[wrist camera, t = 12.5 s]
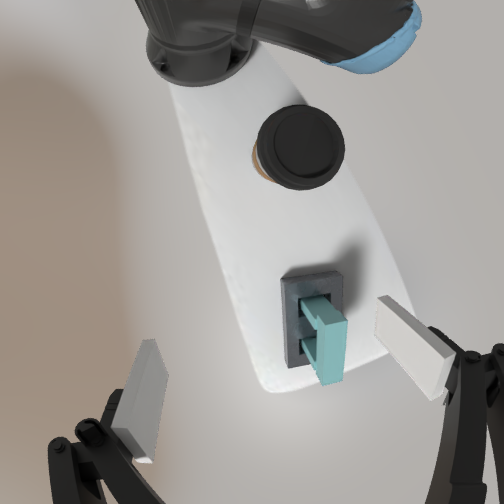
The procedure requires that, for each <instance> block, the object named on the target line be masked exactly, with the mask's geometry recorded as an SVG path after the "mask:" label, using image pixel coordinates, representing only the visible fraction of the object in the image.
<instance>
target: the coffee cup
mask: <svg viewBox="0 0 504 504" xmlns="http://www.w3.org/2000/svg"><path fill="white" fill-rule="evenodd" d="M344 153H345V144H344V138H343V135H342V132H341V130H340V128H339V127H338V125H337V124H336V122H335V121H334V120H333V119H332V118H331V117H330V116H329V115H328V114H327V113H325V112H323V111H321V110H320V109H317V108H315V107H311V106H307V105H291V106H287V107H283V108H282V109H280V110H278V111H276V112H275V113H273V114H271V115H270V116H269V117H268V118H267V119H266V120H265V122H264V123H263V124H262V126H261V129H260V131H259V133H258V138H257V140H256V142H255V145H254V147H253V152H252V163H253V166H254V168H255V170H256V171H257V172H258V174H260V175H261V176H262V177H264V178H265V179H267V180H270V181H272V182H275V183H277V184H280V185H282V186H284V187H286V188H288V189H293V190H298V191H299V190H310V189H314V188H317V187H319V186H322V185H324V184H325V183H327V182H328V181H330V180H331V179H332V178H333V177H334V176H335V174H336V173H337V172H338V170H339V168H340V166H341V164H342V162H343V159H344Z"/></svg>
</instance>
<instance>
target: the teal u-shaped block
mask: <svg viewBox="0 0 504 504" xmlns="http://www.w3.org/2000/svg"><path fill="white" fill-rule="evenodd" d="M299 306H300V308H301V309H302V311H303V312H304V314H305V315H306V317H307V318H308V320H309V322H310V323H311V325H312V326H313V328H314V329H315V330H317V335H316V336H311V337H306V338H301V339H300V343H301V345H302V347H303V349H304V351H305V353H306V355H307V357H308V359H309V361H310V363H311V365H312V367H313V369H314V370H316V375H317V377H318V378H319V380H320V382H321V384H322V386H324V385H328V384H332V383H336V382H340V381H342V379H343V370H344V361H345V350H346V338H347V324H348V320H347V319H346V318H345V317H344V316H343V315H342V314H341V313H340V311H339V310H336V309H335V308H334V307H333V306H332V305H331V303H330V302H329V301H328V300H327V299H326V298H325V297H324V296H323V295H322V294H321V295H315V296H309V297H303V298H299Z"/></svg>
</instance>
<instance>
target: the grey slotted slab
mask: <svg viewBox="0 0 504 504" xmlns="http://www.w3.org/2000/svg"><path fill="white" fill-rule="evenodd" d="M280 281H281V296H282V314H283V332H284V353H285V362H286V364H287V367H288V368H293V367H298V366H303V365H308V364H311V363H310V361H309V359H308V357H307V355H306V353H305V351H304V349H303V347H302V346H299V339H301V338H306V337H311V336H316V335H317V330H315V329H314V328H313V326H312V325H311V323H310V322H309V320H308V318H307V317H306V315H305V314H304V312H303V311H302V309H301V310H298V298H303V297H309V296H315V295H321V294H325V298H326V299H327V300H328V301H329V302H330V303H331V305H332V306H333V307H334V308H335V309H336V310H339V311H340V313H341V314H342V293H343V276H342V275H341V274H340V273H339V272H337V271H332V272H325V273H318V274H312V275H305V276H298V277H291V278H284V279H280Z"/></svg>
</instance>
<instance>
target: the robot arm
mask: <svg viewBox="0 0 504 504" xmlns="http://www.w3.org/2000/svg"><path fill="white" fill-rule="evenodd" d="M135 2H136V4H137V6H138V8H139V10H140V12H141V14H142V16H143V18H144V20H145V22H146V24H147V26H148V28H149V31H148V37H147V41H146V52H147V56H148V59H149V61H150V63H151V65H152V67H153V68H154V70H155V71H156V72H157V73H158V74H159V75H160V76H161V77H162V78H164V79H165V80H167V81H169V82H171V83H174V84H177V85H180V86H186V87H202V86H208V85H212V84H216V83H218V82H221V81H223V80H225V79H227V78H229V77H231V76H232V75H233V74H235V73H236V72H237V71H238V70H239V69H240V68H241V67H242V66H243V65H244V64H245V62H246V61H247V59H248V57H249V54H250V51H251V47H252V42H253V39H256V40H260V41H263V42H267V43H271V44H274V45H278V46H281V47H284V48H288V49H290V50H293V51H297V52H299V53H302V54H305V55H308V56H311V57H313V58H316V59H319V60H320V61H321V62H322V63H324V64H327V65H332V66H337V67H340V68H343V69H345V70H348V71H350V72H353V73H356V74H372V73H375V72H378V71H381V70H383V69H385V68H387V67H389V66H390V65H392V64H393V63H394V62H396V61H397V60H398V59H399V58H400V57H401V56H402V55H403V54H404V53H405V52H406V51H407V50H408V49H409V47H410V46H411V45H412V43H413V42H414V40H415V38H416V34H415V32H416V31H417V30H418V29H419V28H420V26H421V22H422V16H421V11H420V9H419V7H418V6H417V4H416V2H415V1H414V0H135ZM374 336H375V337H376V338H377V339H378V340H379V341H380V342H381V344H382V345H383V346H384V347H385V348H386V349H387V350H388V352H389V353H390V354H391V355H392V356H393V357H394V358H395V360H396V361H397V362H398V363H399V364H400V365H401V367H402V368H403V369H404V370H405V371H406V372H407V374H408V375H409V376H410V377H411V378H412V379H413V381H414V382H415V383H416V384H417V385H418V387H419V388H420V389H421V390H422V391H423V393H424V394H425V395H426V396H427V398H428V399H429V400H430V401H431V400H433V399H435V398H437V397H439V396H440V395H441V394H442V392H443V390H444V387H446V388H447V389H448V390H449V391H448V393H447V396H446V398H445V400H444V403H443V405H445V403H446V408H445V417H444V423H443V431H442V437H441V443H440V447H439V452H438V457H437V461H436V466H435V470H434V474H433V478H432V482H431V485H430V489H429V492H428V495H427V499H426V502H425V504H484V503H485V498H486V492H487V485H486V484H485V483H483V482H482V477H483V470H484V461H485V450H486V431H487V425H488V429H489V434H490V438H491V443H492V448H493V454H494V460H495V466H496V474H497V482H498V491H499V502H500V504H504V344H502V343H499V344H495V345H494V346H493V349H492V352H491V353H489V354H485V355H481V354H480V353H478V352H475V351H466V352H465V351H464V350H463V349H461V348H460V347H459V346H458V345H457V344H456V343H454V342H453V341H452V340H451V339H449V338H448V337H447V336H446V335H444V333H442V332H441V331H440V330H438V329H436V328H434V327H432V326H430V327H426V326H425V325H423V324H422V323H421V322H420V321H419V320H417V319H416V318H415V317H414V316H413V315H411V314H410V313H409V312H408V311H407V310H405V309H404V308H403V307H402V306H400V305H399V304H398V303H397V302H396V301H394V300H393V299H392V298H391V297H389V296H388V295H386V296H382V297H378V298H377V309H376V322H375V334H374ZM167 381H168V372H167V370H166V367H165V365H164V362H163V360H162V357H161V355H160V352H159V349H158V346H157V343H156V341H155V339H150V340H143V341H142V343H141V346H140V348H139V351H138V353H137V356H136V358H135V361H134V363H133V366H132V369H131V372H130V374H129V377H128V380H127V382H126V385H125V388H124V389H116V390H115V391H114V392H113V393H112V394H111V395H110V397H109V399H108V402H107V405H106V407H105V410H104V412H103V415H102V418H101V421H100V422H99V421H98V420H96V419H94V418H88V419H84V420H82V421H81V422H79V423H78V424H77V426H76V428H75V435H76V436H77V438H78V439H79V440H80V441H81V442H77V443H70V441H68V440H67V438H64V437H57V438H55V439H53V440H52V441H51V442H50V443H49V445H48V464H49V475H50V484H51V492H52V499H53V504H107V502H106V499H105V496H104V492H103V489H102V485H101V482H100V479H103V480H104V482H105V484H106V485H107V487H108V488H109V490H110V492H111V493H112V495H113V496H114V498H115V499H116V501H117V502H118V504H165V503H164V501H162V499H161V498H160V497H159V496H158V495H157V494H156V492H155V491H154V490H153V489H152V488H151V487H150V485H149V484H148V483H147V482H146V480H145V479H144V478H143V477H142V475H141V474H140V473H139V472H138V470H137V469H136V468H135V466H134V465H133V464H132V458H133V457H134V458H135V459H136V461H137V462H139V463H153V461H154V455H155V448H156V442H157V435H158V430H159V423H160V418H161V412H162V407H163V402H164V396H165V391H166V386H167Z"/></svg>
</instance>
